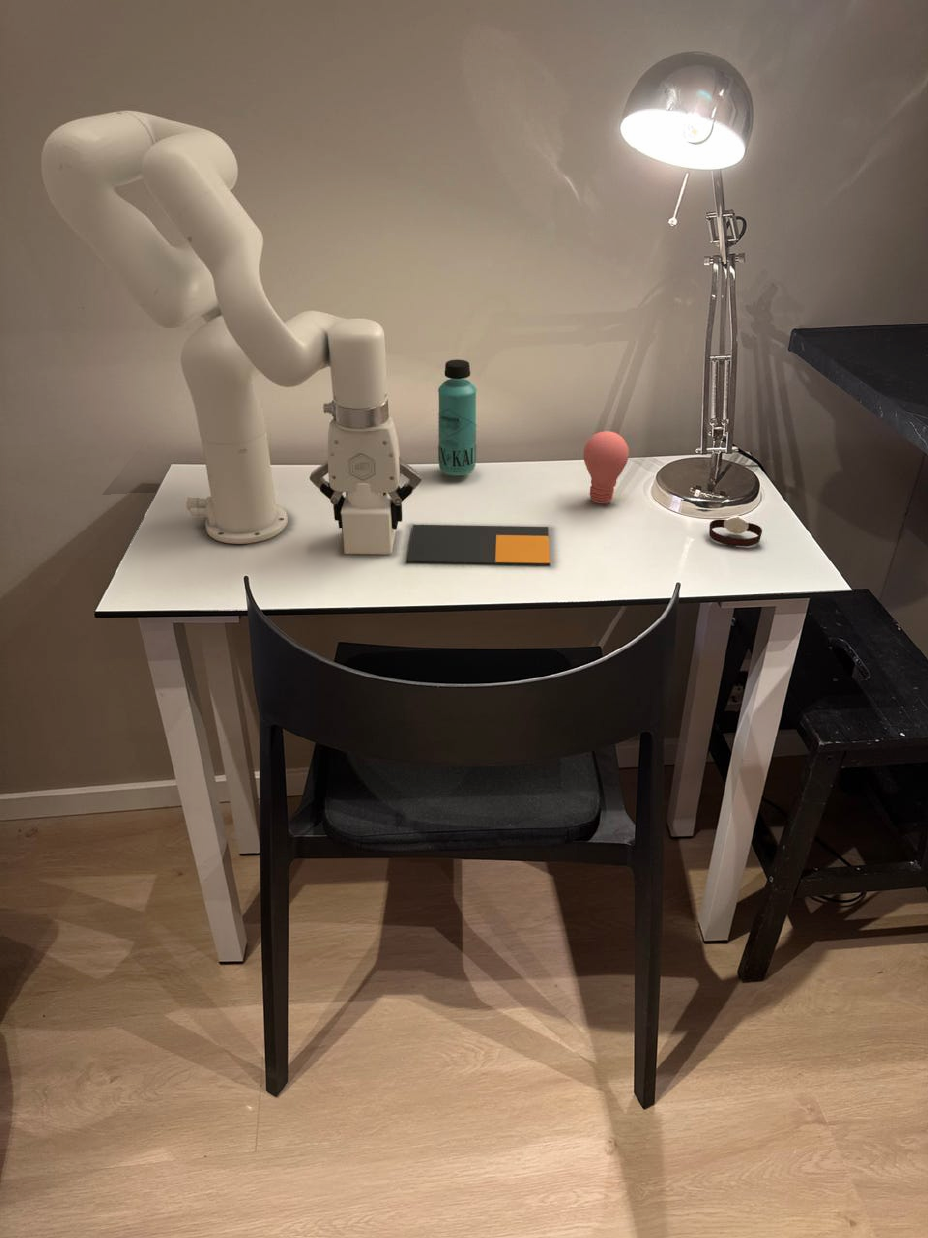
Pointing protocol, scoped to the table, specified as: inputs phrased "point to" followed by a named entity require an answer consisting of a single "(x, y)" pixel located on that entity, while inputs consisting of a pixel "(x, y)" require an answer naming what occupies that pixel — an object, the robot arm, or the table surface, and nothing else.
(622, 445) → the light bulb
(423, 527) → the desk mat
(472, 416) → the beverage bottle
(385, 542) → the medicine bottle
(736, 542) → the watch
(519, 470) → the table surface
